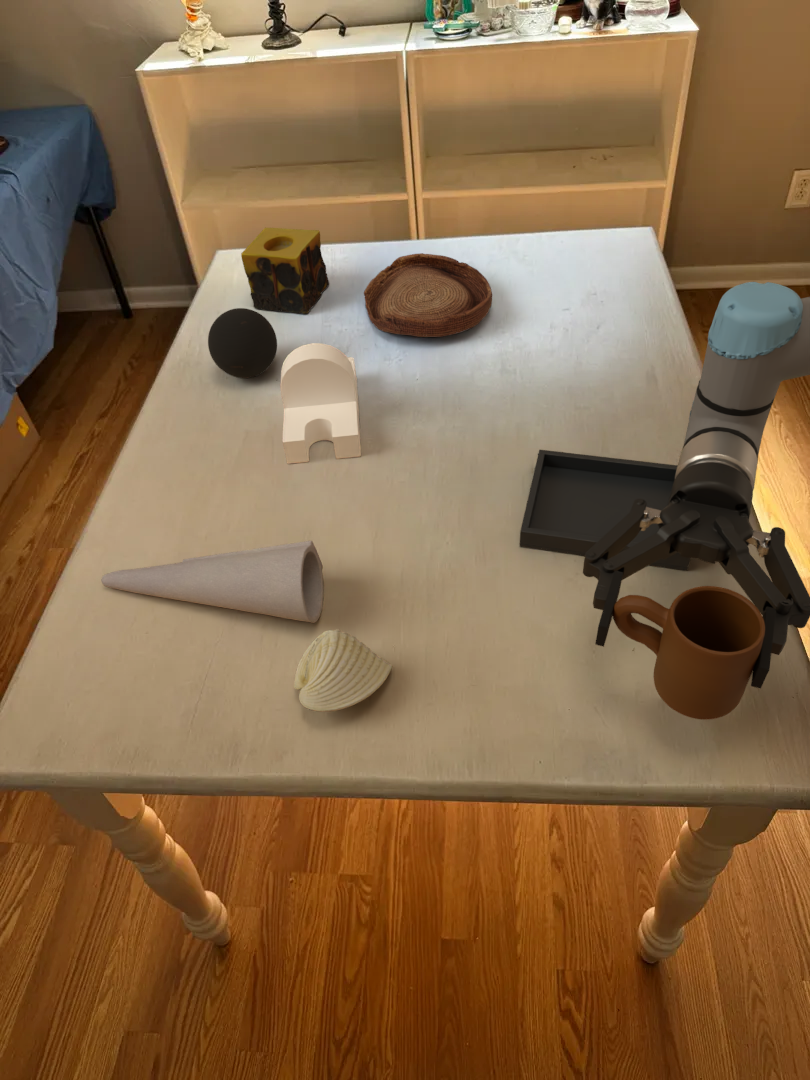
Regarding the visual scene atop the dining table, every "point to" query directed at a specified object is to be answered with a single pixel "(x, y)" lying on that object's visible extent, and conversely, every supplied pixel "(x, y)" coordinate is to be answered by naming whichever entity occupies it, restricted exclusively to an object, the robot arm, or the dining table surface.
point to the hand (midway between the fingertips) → (678, 656)
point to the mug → (698, 647)
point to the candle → (285, 269)
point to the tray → (592, 501)
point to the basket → (427, 296)
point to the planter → (238, 581)
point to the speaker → (242, 343)
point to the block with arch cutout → (319, 402)
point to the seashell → (338, 672)
